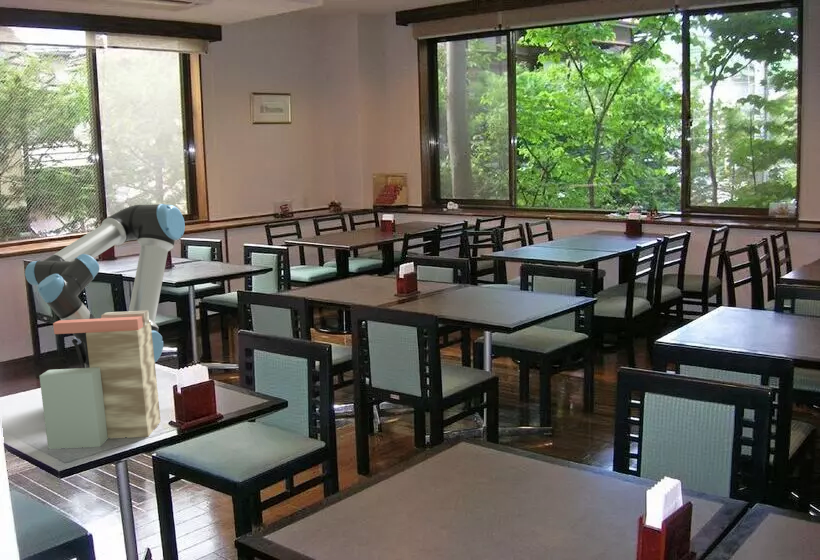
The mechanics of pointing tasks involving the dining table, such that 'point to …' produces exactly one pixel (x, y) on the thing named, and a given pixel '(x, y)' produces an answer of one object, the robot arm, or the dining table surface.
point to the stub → (98, 325)
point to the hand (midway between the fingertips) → (122, 372)
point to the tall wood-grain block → (127, 377)
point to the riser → (73, 408)
